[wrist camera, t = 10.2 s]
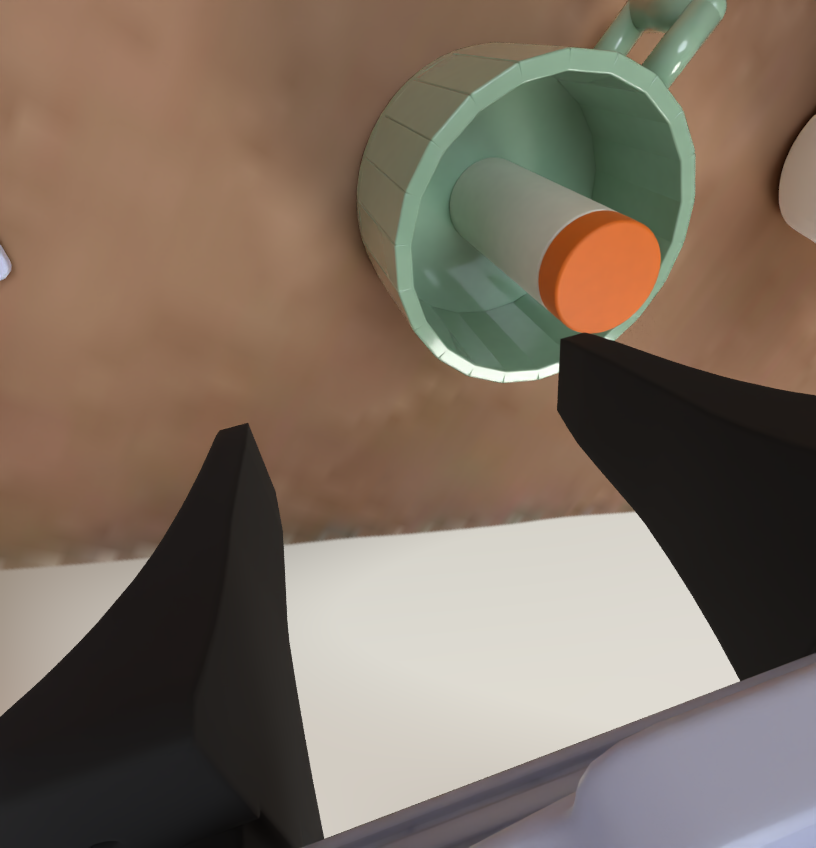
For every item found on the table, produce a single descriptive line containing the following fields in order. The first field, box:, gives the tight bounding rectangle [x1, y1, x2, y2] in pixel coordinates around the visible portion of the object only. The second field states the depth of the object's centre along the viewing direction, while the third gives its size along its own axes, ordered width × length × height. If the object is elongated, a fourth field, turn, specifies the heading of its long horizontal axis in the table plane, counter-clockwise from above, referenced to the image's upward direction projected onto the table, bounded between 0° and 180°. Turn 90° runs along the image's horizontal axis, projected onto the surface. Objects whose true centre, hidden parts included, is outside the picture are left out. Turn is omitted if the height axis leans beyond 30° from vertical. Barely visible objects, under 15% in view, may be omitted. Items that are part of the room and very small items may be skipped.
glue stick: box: [450, 158, 661, 334], centre depth 17 cm, size 3×3×8 cm
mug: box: [357, 0, 727, 383], centre depth 18 cm, size 12×10×6 cm
